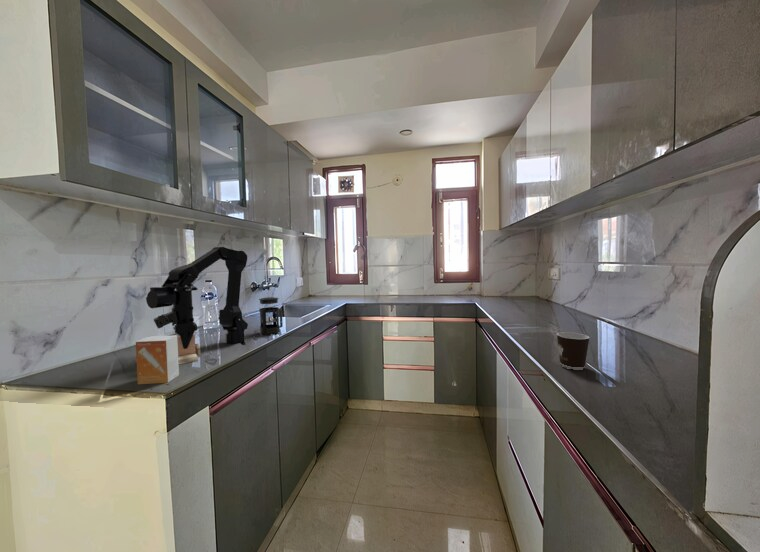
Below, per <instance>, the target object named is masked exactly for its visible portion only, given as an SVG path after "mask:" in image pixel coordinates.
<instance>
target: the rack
mask: <svg viewBox="0 0 760 552" xmlns="http://www.w3.org/2000/svg"><path fill="white" fill-rule="evenodd" d="M195 351H196V355H197V356H198V358H201V356H202V355H201V347H200V345H199V343H195Z"/></svg>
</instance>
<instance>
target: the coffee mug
mask: <svg viewBox="0 0 760 552" xmlns="http://www.w3.org/2000/svg"><path fill="white" fill-rule="evenodd" d="M556 339H557V340H556V342H557V347H558V357H559V363H560V362H561V363H562V364H564V365H567V366H571V367H584V366H585V367H586V360H587V355H588V350H589V342H590V335H589V336H588V335H586V334H582V333H577V332H563V331H562V332H557V333H556Z"/></svg>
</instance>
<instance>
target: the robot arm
mask: <svg viewBox="0 0 760 552" xmlns="http://www.w3.org/2000/svg"><path fill="white" fill-rule="evenodd" d="M219 260H223V261H224V262H225V266H226V269H227V271H228V273H227V274H228V275H227V286H226V287H227V288H226V300H225V306H224V308H223V309H219V311H218V313H219V315H218V320H219V324H220V325H221V326H222V329H223V330H224V331H226V333H225V334H224V336H225V337H224V338H225V344H226V345H236V344H240V345H246V344H247V343H246V341H245V330H247V329H248V328H249V327H248V325H249V324H248V322H246V320H244V319H243V312H242V309H241V308H240V297H241V296H240V294H241V282H242V272H243V271H244V269H245V268H246V266H247V263H248V254H247V253H246V252H245V251H244V250H237V249H236V250H235V249H233V248H227V247H225V246H214V247H213V248H211V250H209V251H208V252H206V253H205V254H203V255H200V257H197V258H196V259H194V260H193V261H191V262H190V263H188V264H184V265H181V266H178V267H176V268H172V269H171V270H170V271H169V272H168V276H167V278H166V279H165V281H164V282H163V284H162V285H161V287H156V286H153V287H152V286H151V287H150V288H149V292H148V293H147V295H146V298H145V300H146V301H145V302H146V304H147V306H148V307H149V308H150V309H157V308H158V309H160V308H165V307H171V306H172V308H171V311H170V312H167V313H165V314H164V313H163V314H161V315H158V316H156V317H155V318H153V322H154V324H155V326H156V327H157V329H162V328H163V327H164V326H167V325H169V324H171V325H172V327H173V328H172V329H173V330H174V333H175V334H177V335H180V338H181V341H182V345H183V348H184V349H187V348H188V346H189V343H190V341H191V338H192V336H193V334H195V332H196V331H198V324H197V323H196V322H195V318H194V314H193V312H194V306H193V291H198V290H199V289H198V287H197V286H195V285H194V284H193V282H195V280H197V279H198V278H199V275H200V274H201V273H202V272H203V271H205V270H206V269H207V268H208V267H210V266H213V264H215V263H216V262H218V261H219Z"/></svg>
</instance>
